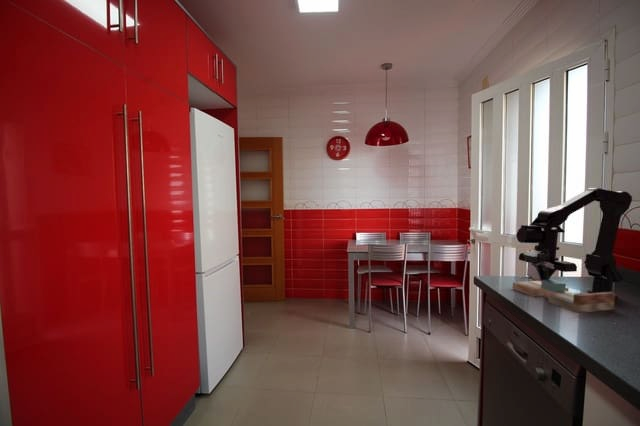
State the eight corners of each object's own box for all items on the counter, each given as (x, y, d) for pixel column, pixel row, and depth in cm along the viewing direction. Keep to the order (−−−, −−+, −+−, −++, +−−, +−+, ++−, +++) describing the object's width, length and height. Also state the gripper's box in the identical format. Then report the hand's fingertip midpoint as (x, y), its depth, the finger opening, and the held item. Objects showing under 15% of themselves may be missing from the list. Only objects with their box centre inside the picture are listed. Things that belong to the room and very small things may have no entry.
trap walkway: (543, 286, 123) (544, 273, 123) (613, 309, 100) (615, 293, 99) (512, 288, 119) (513, 275, 119) (577, 312, 96) (578, 296, 96)
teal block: (551, 287, 114) (552, 279, 114) (564, 291, 109) (565, 283, 109) (541, 287, 113) (541, 279, 113) (553, 292, 108) (554, 284, 108)
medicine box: (546, 281, 130) (548, 262, 130) (534, 280, 131) (536, 261, 131) (537, 276, 138) (538, 258, 137) (526, 275, 139) (527, 257, 138)
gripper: (509, 239, 121) (506, 277, 122) (555, 248, 103) (551, 293, 104) (531, 239, 123) (528, 276, 125) (580, 248, 105) (575, 291, 107)
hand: (543, 283), depth 115 cm, fingers closed
